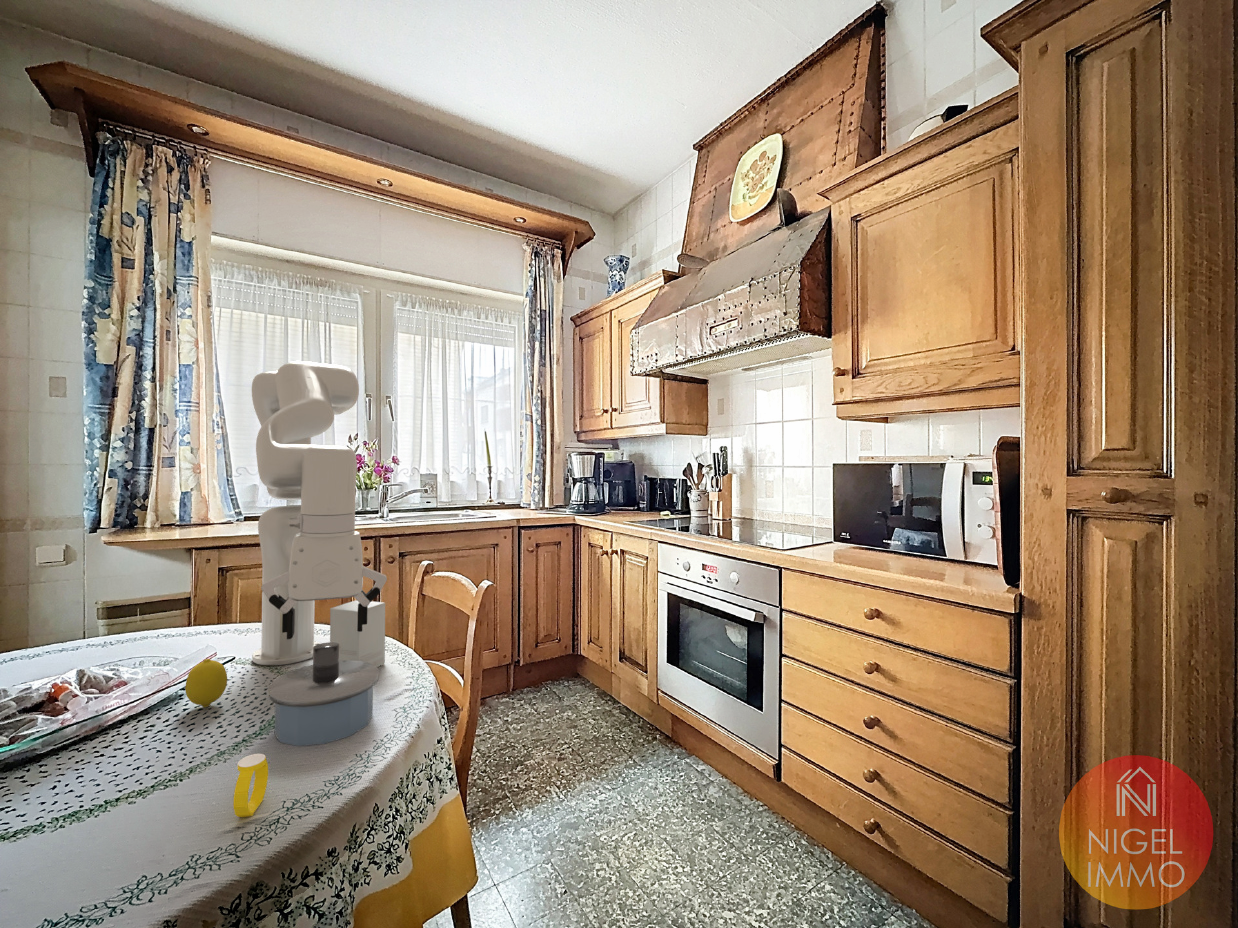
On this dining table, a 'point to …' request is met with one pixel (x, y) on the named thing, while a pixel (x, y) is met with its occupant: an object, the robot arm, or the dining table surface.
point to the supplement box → (359, 633)
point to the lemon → (206, 682)
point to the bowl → (323, 720)
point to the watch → (243, 784)
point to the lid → (323, 680)
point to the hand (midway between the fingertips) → (326, 632)
